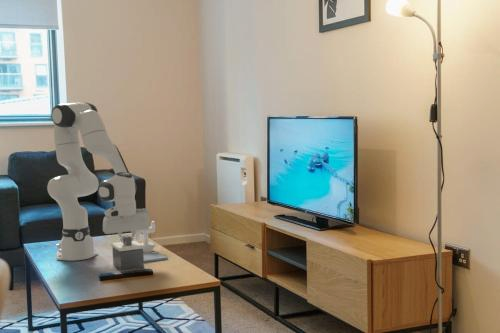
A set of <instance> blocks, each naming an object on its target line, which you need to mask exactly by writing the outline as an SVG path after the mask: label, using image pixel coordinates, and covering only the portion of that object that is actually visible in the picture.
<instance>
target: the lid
mask: <svg viewBox="0 0 500 333" xmlns="http://www.w3.org/2000/svg"><path fill="white" fill-rule="evenodd" d="M122 238H125V242H122V243H121V241H119V242H118V241H117V242H112V243H110V245H111V247H114V248H115V249H117V250H118V251H129V250H137V249H142V248H144V245H142V244H140V243H141V242H138V241H137V240H136V239H135V240H134V239H133V240H134V241H131V235H129V234H128V235H127V234H126V235H125V234H124V235H122Z"/></svg>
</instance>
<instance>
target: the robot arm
mask: <svg viewBox="0 0 500 333" xmlns="http://www.w3.org/2000/svg"><path fill="white" fill-rule="evenodd" d="M50 116H51V120H52V121H51V122H52V123H53V124H54V127H53V128H54V129H53V136H54V137H53V139H54V140H53V141H54V147H55V154H56V155H55V156H56V160H57V163H58V164H59V165H60V166H62V167H63V168H65V169H66V171H67V173H68V174H63V175H57V176H55V177H52V178H51V179H50V180H49V181H48V182H47V186H46V188H47V193H48V195H49V196H50V197H51V198H52V199H53V200H55V201H56V203H57V204H58V207H59V208H60V210H61V214H62V223H63V225H62V226H63V228H62V232H61V233H62V237H61V240H60V242H59V243H56V246H57V249H59V250H58V251H56V252H55V253H56V261H69V262H70V261H73V262H74V261H84V260H87V259H88V260H89V259H91V258H93V257H96V256H98V252H96V251H95V246H94V238H93V237H92V236H91V235H90V226H89V221H88V220H89V219H88V218H89V216H88V210H87V209H86V207H84V206H82V205H80V203H79V201H78V198H82V197H86V196H90V195H92V194H95V193H96V192H97V195H98V198H100V200H102V201H103V202H114V205H113V207H112V206H111V207H110V208H108V209H105V210H104V215H105V216H104V217H103V220H102V232H103V233H104V234H106V235H110V234H117V236H118V237H119V238H120V242H121V243H122V242H125V238H123V233H128V232H130V233H131V235H130V237H131V241H134V237H136V231H137V230H146V229H149V227H151V223H150V219H149V217H150V211H149V210H148V209H147V208H144V207H143V208H137V201H136V199H135V198H136V197H135V196H136V193H137V183H136V181H135V178H134V175H133V174H132V173H130V170H129V168H128V167H127V165H126V162H125V160H124V158H123V155H122V154H121V151H120V150H119V148H118V147H117V145H116V144H114V143H113V141H112V140H111V139H110V137H109V135H108V132H107V129H106V126H105V124H104V121H103V119H102V117H101V115H100V113H99V112H98V109H97V107H96V105H94V104H92V103H90V102H78V101H77V102H68V103H59V104H56V105H54V107H53V108H52V110H51V115H50ZM79 133H80V137H81V140H82V143H83V146H84V148H85V149H86V151H87V152H88V153H90V154H92V155H95V156H97V157H101V158H103V159H105V160H106V161H108V162H109V164H110V165H111V167H112V170H113V171H114V175H113V176H112V177H110V178H107V179H105V180H102V181H101V182H100V183H99V179H98V177H97V176H96V174H94V173H93V172H92V171H90V169H89V168H88V167H87V165H86V163H85V161H84V159H83V155H82V154H83V153H82V149H81V148H82V147H81V143H80V138H79Z"/></svg>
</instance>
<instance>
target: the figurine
mask: <svg viewBox="0 0 500 333" xmlns="http://www.w3.org/2000/svg"><path fill="white" fill-rule="evenodd" d="M155 223H156V222H155V221H154V220H152V221H151V223H150V227H149V229H146V230H137V231H136V234H135V241H139V240H140V235H142V242H139V243H140V244H142V245H144V248H142V249H143V253H150V252H154V249H155V246H156V244H155V243H154V242H152V241H149V234H153V233H155V232H156V224H155Z"/></svg>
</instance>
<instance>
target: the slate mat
mask: <svg viewBox="0 0 500 333" xmlns="http://www.w3.org/2000/svg"><path fill="white" fill-rule="evenodd" d="M143 256H144V264H145V263H153V262H160V261H167V260H169V257H168V256H166V255H164V254H163V253H161V252H158V251H152V252H148V253H143Z"/></svg>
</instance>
